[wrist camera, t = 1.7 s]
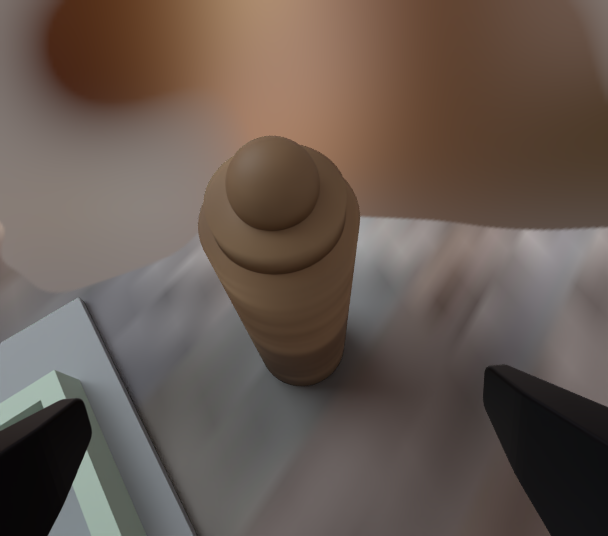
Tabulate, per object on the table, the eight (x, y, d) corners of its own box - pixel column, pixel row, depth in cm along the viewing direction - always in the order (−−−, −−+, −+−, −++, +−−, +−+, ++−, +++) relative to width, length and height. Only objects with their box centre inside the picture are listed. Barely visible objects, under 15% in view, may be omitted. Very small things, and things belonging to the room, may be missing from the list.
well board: (238, 620, 16) (223, 643, 14) (-60, 882, 14) (-143, 968, 11) (83, 300, 24) (56, 280, 21) (-132, 427, 21) (-190, 420, 19)
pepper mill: (361, 351, 21) (411, 162, 9) (291, 404, 20) (232, 276, 8) (310, 290, 23) (291, 60, 11) (244, 335, 22) (134, 139, 9)
